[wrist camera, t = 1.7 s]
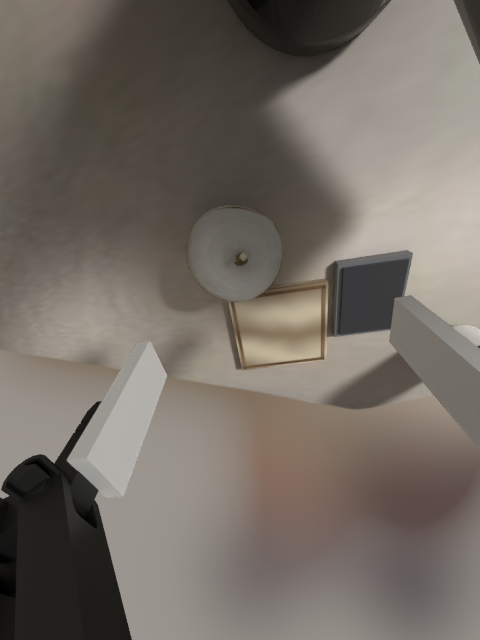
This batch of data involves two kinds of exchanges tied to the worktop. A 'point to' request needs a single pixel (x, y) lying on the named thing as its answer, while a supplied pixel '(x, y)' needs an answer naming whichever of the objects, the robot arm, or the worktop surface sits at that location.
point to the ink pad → (368, 292)
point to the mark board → (282, 325)
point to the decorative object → (234, 252)
